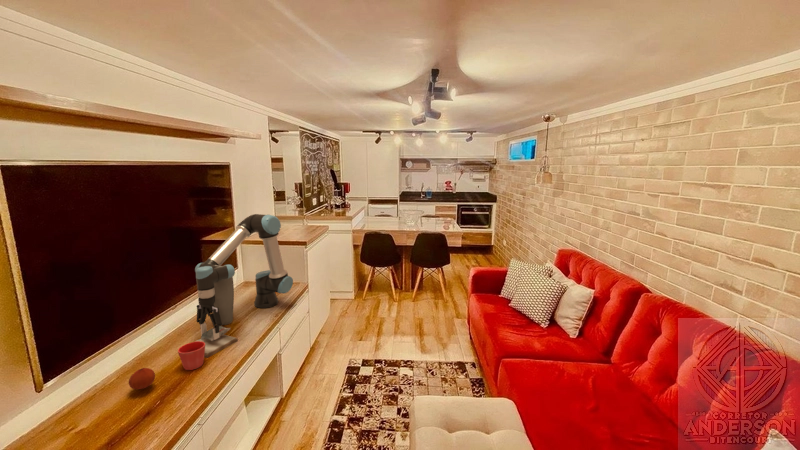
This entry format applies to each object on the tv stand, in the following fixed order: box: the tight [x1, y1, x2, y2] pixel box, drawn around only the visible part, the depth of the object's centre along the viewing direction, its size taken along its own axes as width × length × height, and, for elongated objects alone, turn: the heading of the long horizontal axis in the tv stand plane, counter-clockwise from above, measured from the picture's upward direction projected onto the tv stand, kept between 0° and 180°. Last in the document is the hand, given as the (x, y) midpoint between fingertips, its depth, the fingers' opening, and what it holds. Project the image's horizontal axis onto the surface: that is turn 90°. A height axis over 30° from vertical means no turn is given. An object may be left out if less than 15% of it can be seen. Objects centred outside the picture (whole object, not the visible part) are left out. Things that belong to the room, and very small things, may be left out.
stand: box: [194, 334, 238, 358], centre depth 171 cm, size 18×18×2 cm
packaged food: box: [200, 325, 231, 341], centre depth 174 cm, size 9×12×5 cm
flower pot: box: [177, 340, 205, 371], centre depth 153 cm, size 11×11×10 cm
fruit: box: [128, 367, 156, 390], centre depth 137 cm, size 9×9×8 cm
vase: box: [214, 276, 235, 326], centre depth 195 cm, size 12×12×30 cm
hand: (210, 336), depth 171 cm, fingers closed on packaged food, 9 cm apart
